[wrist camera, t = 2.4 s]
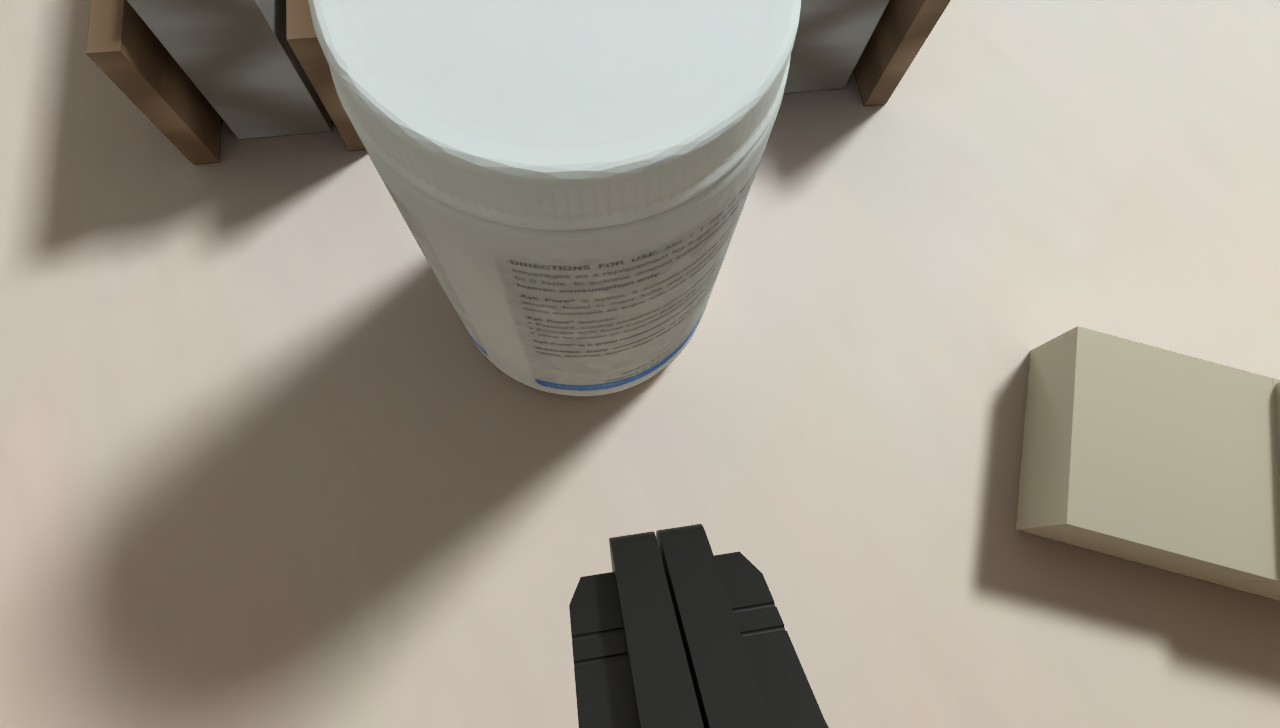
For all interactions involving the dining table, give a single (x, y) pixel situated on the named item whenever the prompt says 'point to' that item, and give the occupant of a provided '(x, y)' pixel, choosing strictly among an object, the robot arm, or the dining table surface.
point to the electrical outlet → (1153, 459)
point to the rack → (303, 85)
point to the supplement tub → (566, 162)
